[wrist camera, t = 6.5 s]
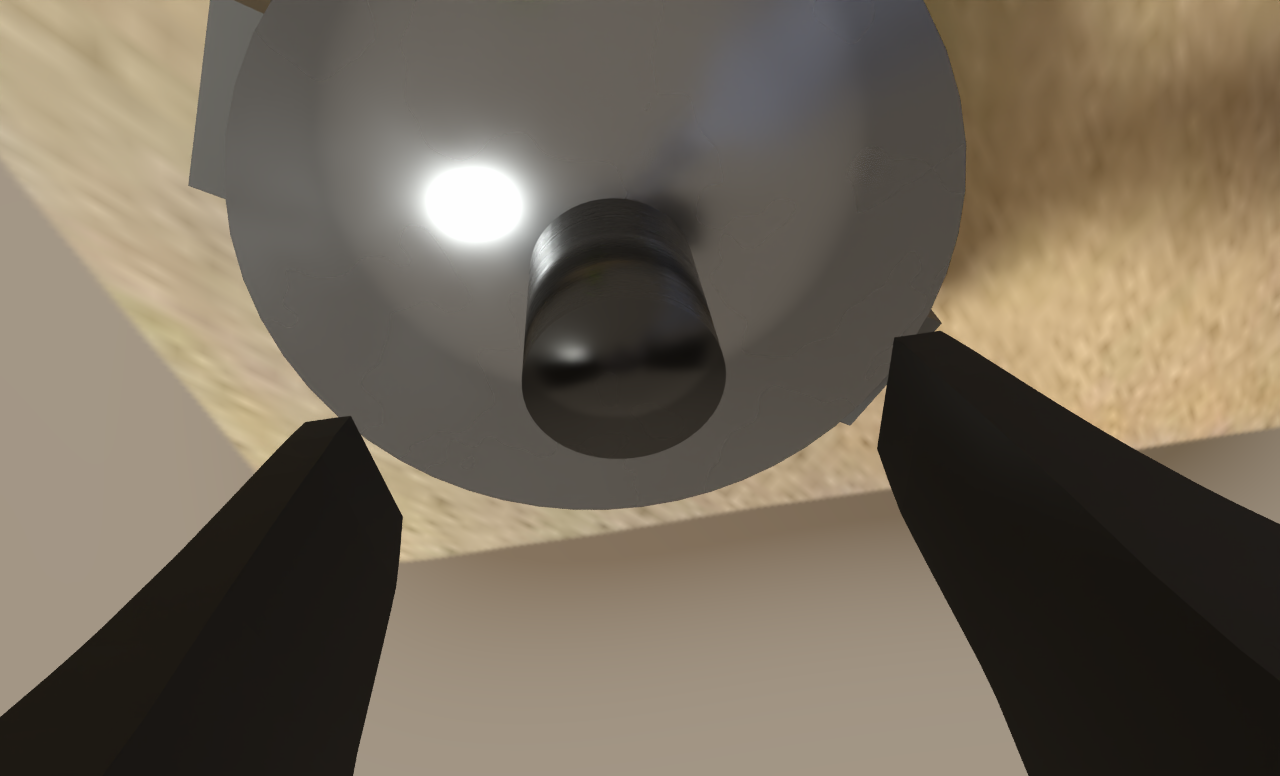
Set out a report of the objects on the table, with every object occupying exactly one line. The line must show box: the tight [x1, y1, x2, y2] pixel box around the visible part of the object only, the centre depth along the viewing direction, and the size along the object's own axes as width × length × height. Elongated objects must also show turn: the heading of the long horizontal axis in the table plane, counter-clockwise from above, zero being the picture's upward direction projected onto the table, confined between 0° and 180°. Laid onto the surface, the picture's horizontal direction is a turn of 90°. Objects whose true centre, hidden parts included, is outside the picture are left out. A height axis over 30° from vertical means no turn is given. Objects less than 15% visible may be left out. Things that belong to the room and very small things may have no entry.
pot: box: [188, 0, 941, 425], centre depth 15 cm, size 14×11×6 cm
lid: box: [224, 0, 966, 510], centre depth 11 cm, size 12×12×4 cm
